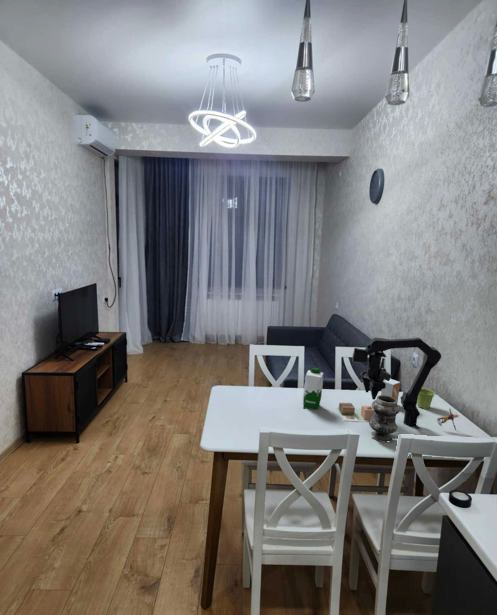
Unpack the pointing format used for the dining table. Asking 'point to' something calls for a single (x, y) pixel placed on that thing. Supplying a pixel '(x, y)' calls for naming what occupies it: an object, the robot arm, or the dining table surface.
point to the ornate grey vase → (384, 418)
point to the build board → (354, 418)
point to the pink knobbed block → (367, 412)
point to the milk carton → (313, 389)
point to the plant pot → (425, 398)
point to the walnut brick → (346, 409)
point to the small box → (391, 389)
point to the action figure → (447, 418)
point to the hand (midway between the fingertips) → (370, 395)
